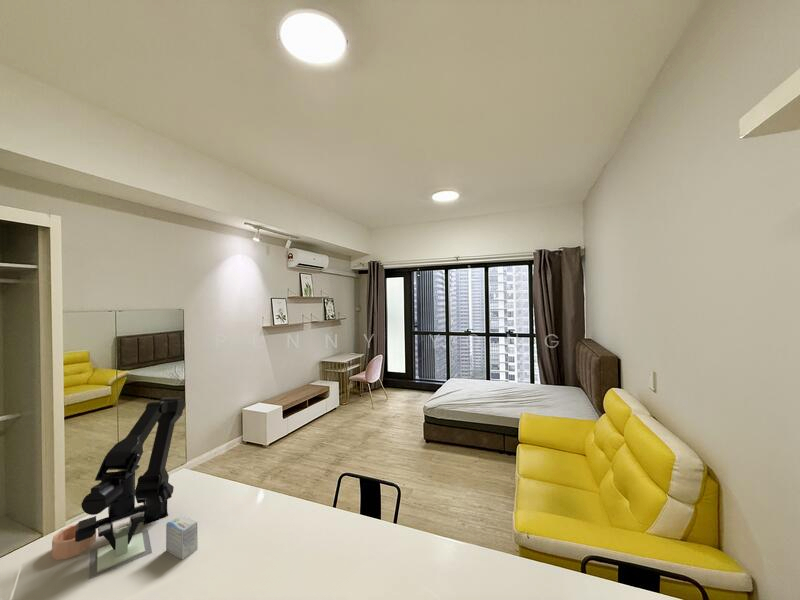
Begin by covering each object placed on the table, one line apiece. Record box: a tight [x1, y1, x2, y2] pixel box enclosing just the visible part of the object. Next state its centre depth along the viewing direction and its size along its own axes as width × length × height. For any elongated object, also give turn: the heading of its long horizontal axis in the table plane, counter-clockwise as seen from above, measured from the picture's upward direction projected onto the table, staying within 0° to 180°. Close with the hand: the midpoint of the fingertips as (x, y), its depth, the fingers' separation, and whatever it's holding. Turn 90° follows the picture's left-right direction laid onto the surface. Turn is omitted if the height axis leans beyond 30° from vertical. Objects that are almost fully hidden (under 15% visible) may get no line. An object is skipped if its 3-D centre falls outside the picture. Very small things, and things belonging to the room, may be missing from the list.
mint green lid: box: [97, 525, 145, 572], centre depth 92 cm, size 10×10×6 cm
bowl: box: [51, 522, 97, 561], centre depth 94 cm, size 9×9×5 cm
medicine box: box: [165, 514, 199, 560], centre depth 93 cm, size 8×4×9 cm, turn 65°
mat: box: [88, 528, 153, 580], centre depth 92 cm, size 13×13×1 cm
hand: (121, 546), depth 92 cm, fingers closed on mint green lid, 3 cm apart
